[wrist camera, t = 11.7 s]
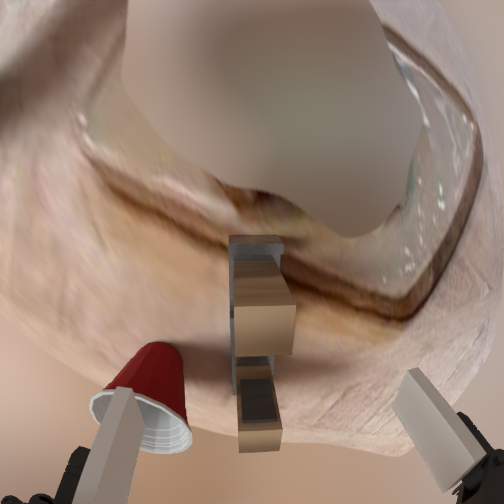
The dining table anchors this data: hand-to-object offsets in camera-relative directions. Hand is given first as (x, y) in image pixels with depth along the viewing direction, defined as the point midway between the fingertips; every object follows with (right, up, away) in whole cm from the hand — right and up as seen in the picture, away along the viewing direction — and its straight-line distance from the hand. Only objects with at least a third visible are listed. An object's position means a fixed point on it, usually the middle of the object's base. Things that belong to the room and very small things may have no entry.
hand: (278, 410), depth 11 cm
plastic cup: (-13, -7, +21) cm, 26 cm away
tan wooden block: (-1, +4, +17) cm, 17 cm away
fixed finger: (-1, -8, +20) cm, 21 cm away
